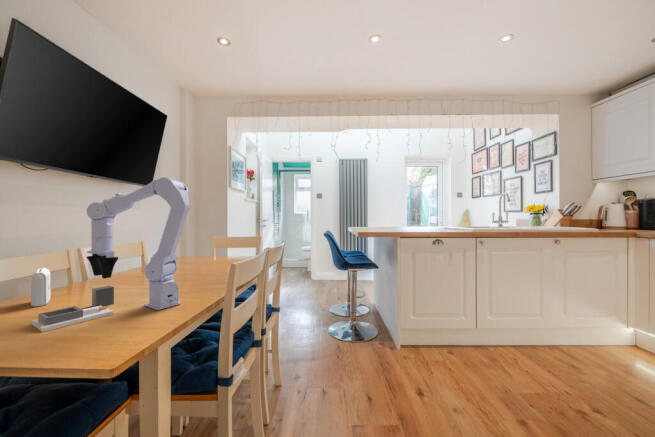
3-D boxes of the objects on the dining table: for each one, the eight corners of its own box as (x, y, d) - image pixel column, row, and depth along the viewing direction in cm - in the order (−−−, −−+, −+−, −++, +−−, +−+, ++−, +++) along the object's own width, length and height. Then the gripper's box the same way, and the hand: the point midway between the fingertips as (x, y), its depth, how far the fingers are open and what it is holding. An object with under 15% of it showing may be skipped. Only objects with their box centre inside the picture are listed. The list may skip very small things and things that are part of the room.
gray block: (113, 303, 97) (113, 287, 97) (96, 307, 93) (96, 290, 93) (109, 302, 99) (109, 285, 99) (92, 306, 95) (92, 288, 95)
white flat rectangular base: (113, 314, 87) (113, 304, 87) (41, 332, 73) (41, 320, 73) (100, 308, 92) (100, 299, 92) (31, 324, 79) (31, 313, 79)
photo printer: (35, 300, 100) (34, 267, 100) (51, 298, 103) (51, 265, 103) (29, 308, 92) (29, 271, 92) (47, 305, 95) (47, 269, 95)
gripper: (80, 237, 96) (80, 276, 96) (95, 239, 88) (95, 281, 88) (104, 236, 102) (104, 272, 102) (121, 237, 94) (121, 277, 94)
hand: (102, 276), depth 96 cm, fingers open, 7 cm apart
